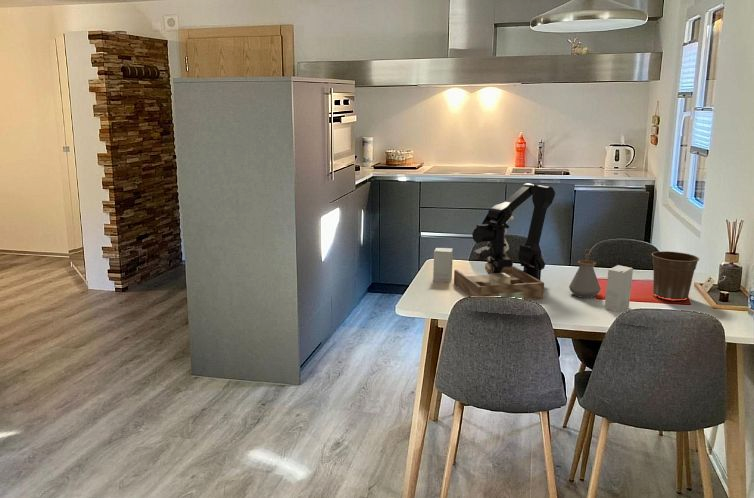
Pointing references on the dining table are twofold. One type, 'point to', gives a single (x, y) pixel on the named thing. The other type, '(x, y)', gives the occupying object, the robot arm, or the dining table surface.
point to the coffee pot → (585, 279)
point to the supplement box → (443, 264)
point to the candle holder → (506, 269)
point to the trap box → (518, 287)
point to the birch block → (499, 279)
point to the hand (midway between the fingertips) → (495, 279)
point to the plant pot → (673, 274)
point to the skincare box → (618, 288)
